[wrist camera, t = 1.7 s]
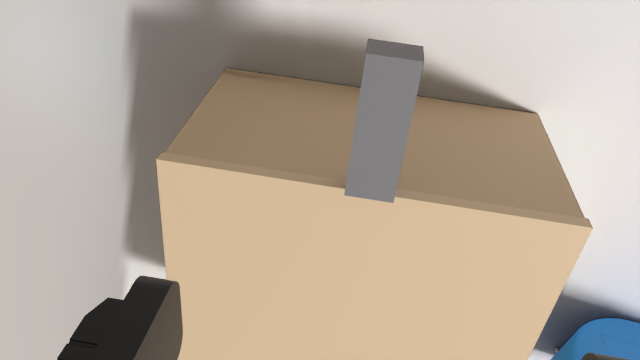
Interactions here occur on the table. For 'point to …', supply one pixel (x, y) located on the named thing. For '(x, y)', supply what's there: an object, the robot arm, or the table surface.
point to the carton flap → (357, 251)
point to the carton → (337, 134)
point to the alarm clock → (603, 340)
